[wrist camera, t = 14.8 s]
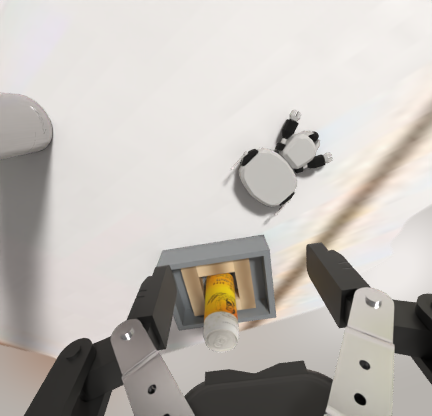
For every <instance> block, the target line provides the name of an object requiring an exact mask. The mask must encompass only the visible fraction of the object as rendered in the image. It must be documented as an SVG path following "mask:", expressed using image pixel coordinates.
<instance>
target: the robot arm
mask: <svg viewBox="0 0 432 416" xmlns="http://www.w3.org/2000/svg"><path fill="white" fill-rule="evenodd" d="M51 138H52V125H51V122H50V119H49V117H48V116H47V114H46V112H45V111H44V110H43V108H42V107H41V106H40V105H39V104H38V103H36V102H35V101H33V100H32V99H31V98H28V97H26V96H24V95H20V94H11V93H0V160H2V159H6V158H10V157H15V156H20V155H24V154H29V153H33V152H37V151H41V150H43V149H45V148H46V147H47V146H48V145H49V143H50V142H51ZM306 256H307V271H308V275H309V277H310V279H311V281H312V282H313V284H314V286H315V287H316V289H317V291H318V293H319V294H320V296H321V298H322V300H323V301H324V303H325V305H326V307H327V308H328V310H329V312H330V313H331V315H332V317H333V318H334V320H335V322H336V324H337V326H338V327H339V328H344V327H345V331H344V335H343V340H342V344H341V348H340V353H339V357H338V361H337V365H336V370H335V374H334V378H333V380H332V379H331V378H329V377H327V376H325V375H323V374H321V373H319V372H316V371H312V370H308V369H306V366H305V364H304V361H296V362H288V363H279V364H277V365H274V366H272V367H270V368H267V369H265V370H262V371H260V372H258V373H248V372H242V371H235V370H230V369H228V370H219V371H211V372H205V381H204V382H202V383H201V384H199V385H197V386H195V387H194V388H193V389H191V390H190V391H189V392H188V393H187V394H186V395H185V396H183V394H182V392H181V390H180V389H179V387H178V385H177V383H176V382H175V380H174V378H173V376H172V374H171V373H170V371H169V369H168V367H167V366H166V364H165V362H164V360H163V359H162V357H161V355H160V353H159V352H158V350H163V349H166V346H167V341H168V336H169V331H170V326H171V321H172V316H173V311H174V306H175V301H176V296H177V287H176V283H175V280H174V277H173V274H172V270H171V267H170V265H164V266H157V267H156V268H155V270H154V273H153V275H152V276H149V277H147V278H146V279H145V281H144V282H143V283H142V284H141V287H140V289H139V292H138V294H137V296H136V297H137V298H136V299H135V301H134V304H133V306H132V308H131V311H130V313H129V316H128V318H127V320H126V321H124V322H122V323H121V324H120V325H118V326H117V327H116V328H115V330H114V331H113V333H112V335H111V336H110V337H108V338H106V339H104V340H101V341H99V342H96V343H94V344H92V342H91V341H90V340H89V339H87V338H81V339H78V340H76V341H74V342H72V343H71V344H69V345H68V346H67V347H66V348H65V349H64V350H63V351H62V352H61V353H60V355H59V356H58V358H57V360H56V361H55V363H54V365H53V367H52V368H51V370H50V372H49V373H48V375H47V377H46V379H45V380H44V382H43V384H42V385H41V387H40V389H39V391H38V392H37V394H36V396H35V397H34V399H33V401H32V403H31V404H30V406H29V408H28V410H27V411H26V413H25V415H24V416H104V414H105V411H106V408H107V404H108V402H109V398H110V395H111V392H112V390H113V389H115V388H117V387H120V386H122V385H124V387H125V390H126V393H127V395H128V399H129V401H130V405H131V408H132V410H133V413H134V416H392V408H393V379H394V353H398V354H403V355H408V356H411V357H412V359H413V360H414V361H415V363H416V364H417V365H418V367H419V368H420V369H421V371H422V372H423V374H424V375H425V376H426V378H427V379H428V380H429V382H430V383H431V384H432V294H423V295H421V296H419V297H418V299H417V302H407V301H398V300H393V299H391V298H390V297H389V296H388V295H387V294H386V293H384V292H382V291H380V290H378V289H374V288H371V287H370V286H369V285H368V284H367V283H366V282H365V280H363V278H362V277H361V276H360V275H359V274H358V272H357V271H356V270H355V269H354V268H352V266H351V265H350V264H349V263H348V261H347V260H346V259H345V258H344V257H343V256H342V255H341V254H339V253H338V252H336V251H334V250H329V251H328V250H327V248H326V247H325V246H324V245H323V244H322V243H314V244H308V245H307V247H306Z"/></svg>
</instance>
